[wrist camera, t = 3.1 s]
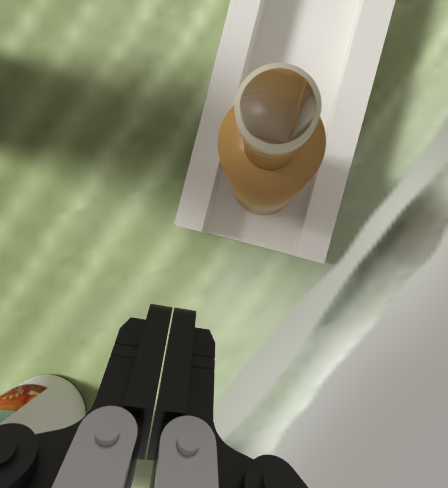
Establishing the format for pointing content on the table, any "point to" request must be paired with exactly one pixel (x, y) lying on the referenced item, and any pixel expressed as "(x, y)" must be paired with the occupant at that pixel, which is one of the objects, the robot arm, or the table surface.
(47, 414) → the milk bottle
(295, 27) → the white trough
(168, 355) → the robot arm
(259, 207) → the amber bottle
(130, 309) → the table surface
